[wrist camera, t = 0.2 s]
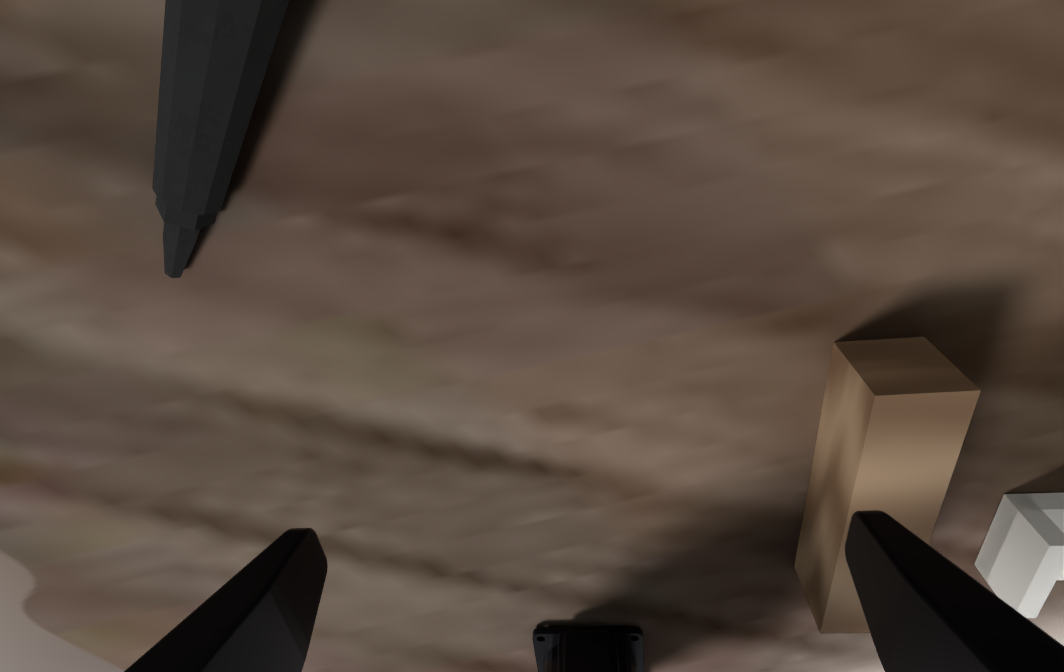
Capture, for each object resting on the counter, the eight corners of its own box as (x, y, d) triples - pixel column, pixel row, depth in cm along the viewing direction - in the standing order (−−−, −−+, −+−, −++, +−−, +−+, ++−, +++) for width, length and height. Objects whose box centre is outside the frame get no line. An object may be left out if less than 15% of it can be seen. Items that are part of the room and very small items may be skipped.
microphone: (258, 252, 27) (428, -302, 15) (231, 340, 23) (435, -321, 11) (119, 210, 24) (200, -487, 13) (62, 299, 20) (108, -595, 9)
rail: (861, 561, 30) (898, 632, 27) (792, 562, 31) (820, 633, 27) (920, 333, 23) (981, 390, 20) (831, 339, 24) (875, 395, 20)
